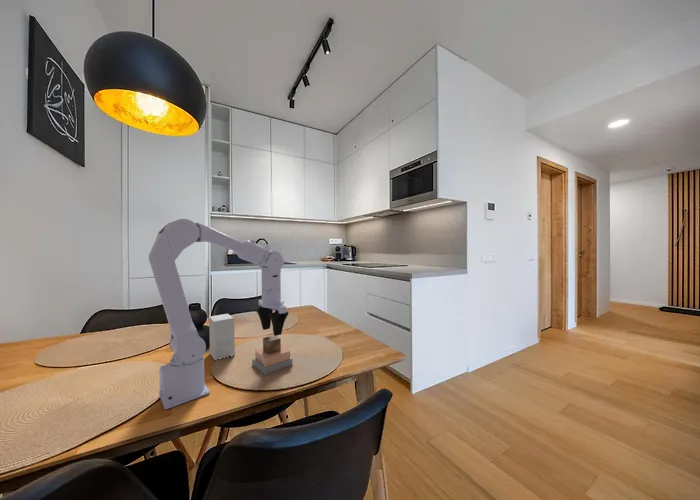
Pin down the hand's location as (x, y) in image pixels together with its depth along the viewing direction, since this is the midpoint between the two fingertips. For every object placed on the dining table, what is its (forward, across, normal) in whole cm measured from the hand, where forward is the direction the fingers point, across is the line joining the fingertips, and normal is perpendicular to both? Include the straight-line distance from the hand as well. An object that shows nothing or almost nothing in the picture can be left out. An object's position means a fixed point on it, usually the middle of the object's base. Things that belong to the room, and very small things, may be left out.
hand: (271, 331), depth 81 cm
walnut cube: (+6, 0, 0) cm, 6 cm away
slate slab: (+11, 0, 0) cm, 11 cm away
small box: (+11, +19, +9) cm, 24 cm away
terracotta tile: (+8, 0, 0) cm, 9 cm away
